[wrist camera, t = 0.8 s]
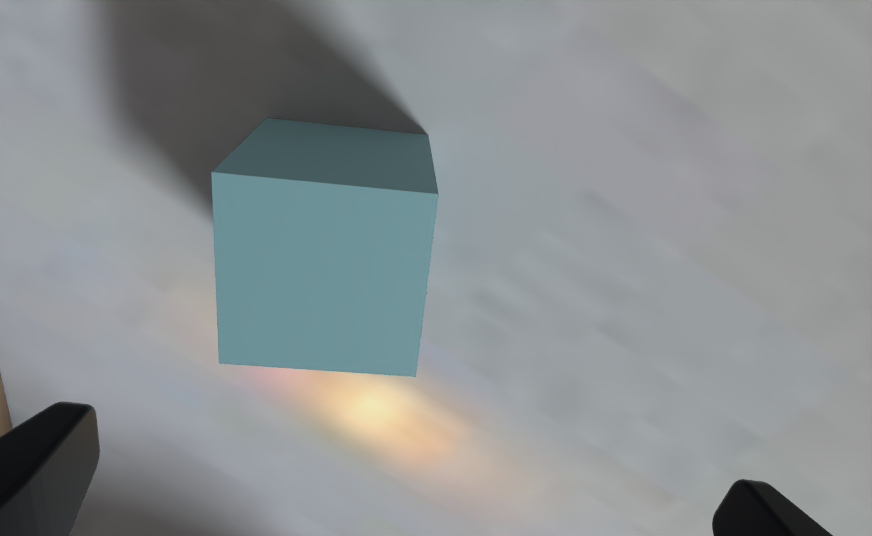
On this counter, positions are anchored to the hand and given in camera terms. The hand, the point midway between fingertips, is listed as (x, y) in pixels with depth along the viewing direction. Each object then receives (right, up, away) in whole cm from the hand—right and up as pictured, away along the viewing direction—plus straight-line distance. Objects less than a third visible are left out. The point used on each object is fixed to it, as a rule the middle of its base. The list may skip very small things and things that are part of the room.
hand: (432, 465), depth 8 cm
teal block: (-3, +5, +11) cm, 13 cm away
